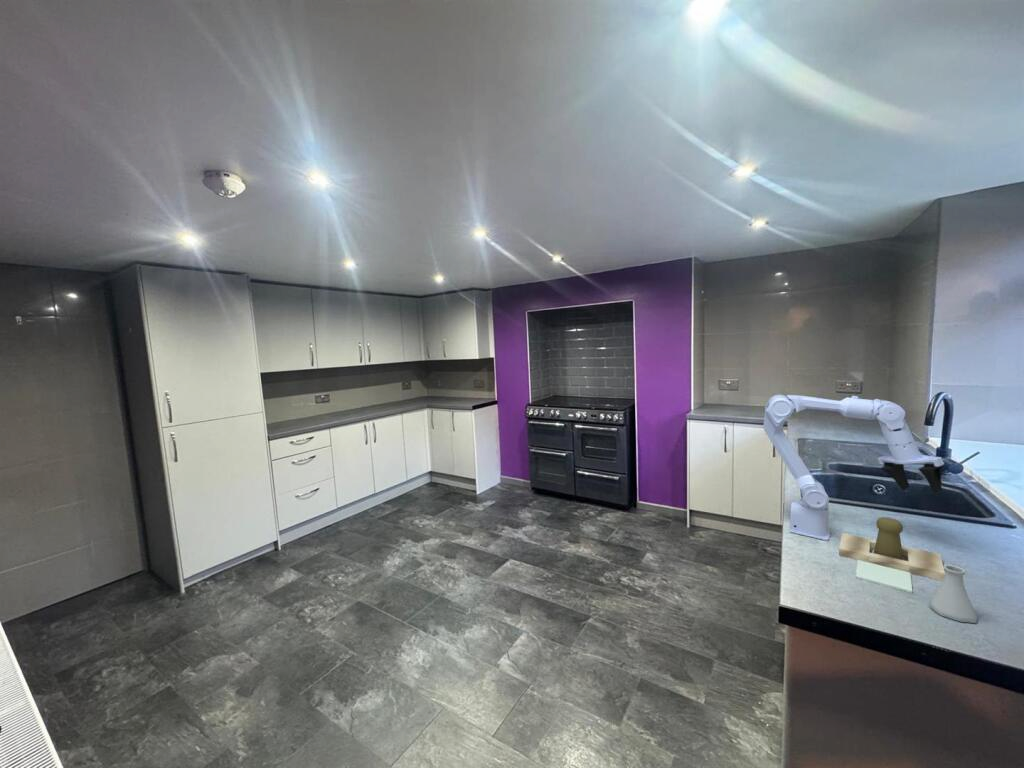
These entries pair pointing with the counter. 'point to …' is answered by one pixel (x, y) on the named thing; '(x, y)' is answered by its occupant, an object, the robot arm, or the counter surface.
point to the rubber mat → (884, 576)
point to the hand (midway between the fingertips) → (921, 489)
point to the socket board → (916, 564)
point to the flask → (953, 597)
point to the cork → (889, 538)
